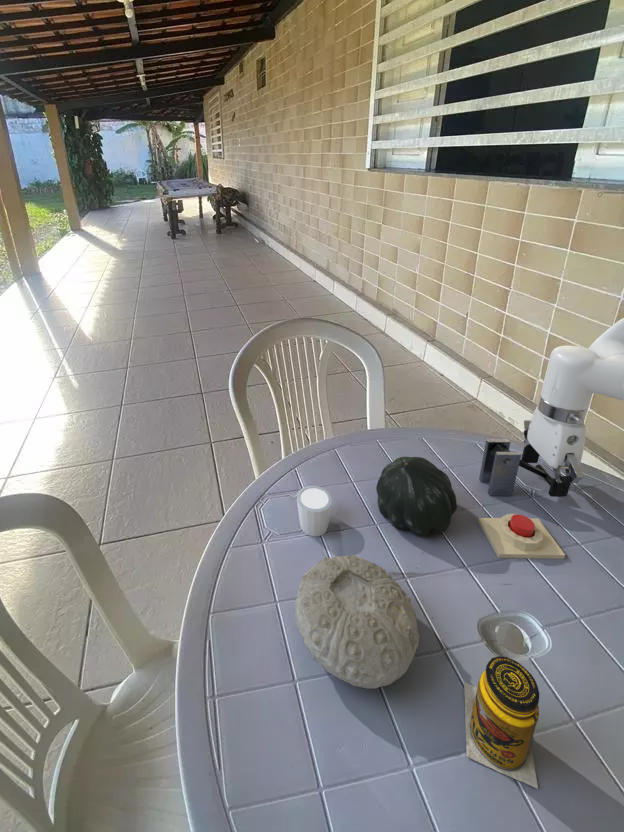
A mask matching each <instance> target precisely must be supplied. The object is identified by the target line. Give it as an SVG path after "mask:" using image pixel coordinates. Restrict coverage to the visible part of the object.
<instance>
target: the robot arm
mask: <svg viewBox="0 0 624 832" xmlns="http://www.w3.org/2000/svg"><path fill="white" fill-rule="evenodd" d="M543 378H544V379H543V382H542V387H541V390H540V393H539V399H538V403H537V405H536V407H535V409H534V412H533V414H532V417H531V419H529V420H523V428H524V430H523V436H524V440H523V445H524V447H523V450H522V453H521V458H520V460H522V461H524V462H526V463H528V464H537V463H539V459H540V457H541V459H543V460H544V462H545V463H546V464H547V465H548V466H550V467H551V468H552V470H553V475H554V478H553V479H552V482H551V485H549V489H548V493H547V494H548V495H549V497H555V498H567V496H568V494H569V490H570V487H571V484H577V483H579V482H580V481H581V480H584V478H585V476H584V475H585V474H584V473H583V471H582V469H581V462H582V459H583V455H584V449H585V443H586V435H587V434H586V433H587V430H586V429H587V428H586V424H585V420H586V416H587V413H588V410H589V407H590V404H591V400H592V397H593V394H595V395H596V394H597V395H600V396H605V397H608V398H612V399H615V400H619V401H624V317H623V318H621V319H619V320H618V321H616V322H615V323H614V324H612V325H611V326H610V327H609V328H608V329H606V330H605V331H604V332H603V333H602V334H600V335H599V336H598V337H597V338H596V339H594V341H593V342H592V343H591V344H590V346H589V347H588V348H586V347H582V346H576V345H560V346H556V347H555V348H554V349H552V350H551V352H550V355H549V359H548V362H547V366H546V371H545V376H544V377H543ZM563 463H564V465H563ZM561 470H564V471H565V475H562V472H561Z"/></svg>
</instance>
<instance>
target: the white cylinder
mask: <svg viewBox="0 0 624 832" xmlns="http://www.w3.org/2000/svg"><path fill="white" fill-rule="evenodd" d="M332 503H333V498H332V496H331V493H330V492H329V491H328V490H327V489H326V488H323V487H322V486H317V485H307V486H304V487H302V488H300V490H299V491H297V494H296V505H297V511H298V520H299V521H298V522H299V527H300V529H301V531H302V532H303V533H304V534H306V535H307V536H311V537H321V536H323V535H325V534H326V533H327V532H328V528H329V525H330V524H329V523H330V517H331V516H330V515H331V510H332Z"/></svg>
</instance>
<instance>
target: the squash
mask: <svg viewBox="0 0 624 832" xmlns="http://www.w3.org/2000/svg"><path fill="white" fill-rule="evenodd" d="M375 490H376V493H377V507H378V512H379V513H380V515H381V516H383V517H384V518H386V519H388V520H389V522H390V523H391V524H392V527H394V528H395V529H397V530H399V531H401V530H402V531H406V530H410V532H411V533H412V534H414V535H415V536H417V537H420V538H424V537H426V536H427V535H428V534H429V533H430V532H431V533H434V534H438V535H439V534H442V533H444V532H445V531H447V530H448V528H449V527H450V525H451V522H452V517H453V515H454V513H455V512H456V510H457V509H458V501H457V497H456V493H455V491H454V489H453V485H452V482H451V480H450V477H449V476H448V474H446V472H444V471H443V470H442V469H439V468H438V467H437V466H436V465H435V464H434V463H432V462H431V461H430V460H428V459H427V458H424V457H420V456H400V457H398V458H396V459H394V460H392V461H391V462H389V463H387V464H386V465H385V466H384V467H383V469H382V471H381V475H380V476H379V478H378V480H377V483H376V487H375Z"/></svg>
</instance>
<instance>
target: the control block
mask: <svg viewBox="0 0 624 832" xmlns="http://www.w3.org/2000/svg"><path fill="white" fill-rule="evenodd" d="M516 514H517V513H506V514H504V515H503V516H501V517H478V520H477V523H478V525H479V526H480V528H481V529H482V532H483V533H484V535H485V537H486V538H487V540H488V542H489V544H490V545H491V547H492V550H493V551H494V552H495V555H496V556H497V558H498V559H541V560H544V559H547V560H548V559H549V560H550V559H553V560H564V559H565V558H566V554H565V553H564V551H563V550H562V549H561V547H560V546H559V544H558V542H556V540H555V539H554V538H553V536H552V535H551V533H550V532H549V531H548V528H546V526H545V525H544V524H543V523H542V521H541V520H540V519H539V518H538V517H536V518H535V517H534V518H533V517H528V518H529V519H530V520H532V521H533V523H534V525H535V528H534V532H533V535H532V536H531V537H528V538H526V537H521V536H519V535H517V534H515V533H514V532H513V531H512V530H511V529H510V521H511V517H512V516H513V515H516Z"/></svg>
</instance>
